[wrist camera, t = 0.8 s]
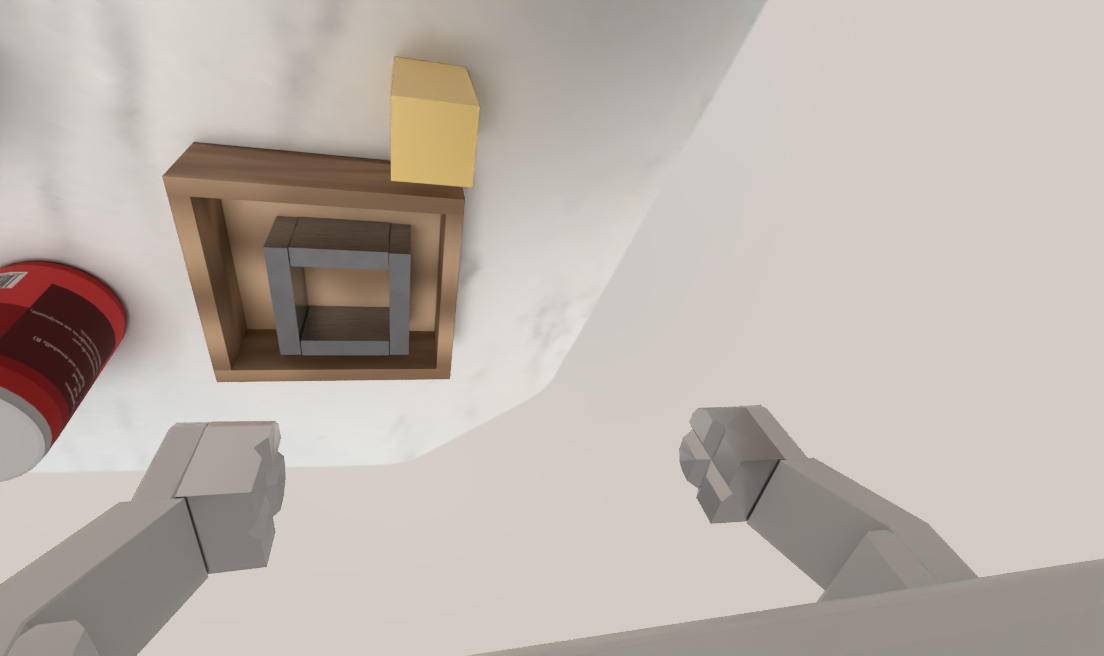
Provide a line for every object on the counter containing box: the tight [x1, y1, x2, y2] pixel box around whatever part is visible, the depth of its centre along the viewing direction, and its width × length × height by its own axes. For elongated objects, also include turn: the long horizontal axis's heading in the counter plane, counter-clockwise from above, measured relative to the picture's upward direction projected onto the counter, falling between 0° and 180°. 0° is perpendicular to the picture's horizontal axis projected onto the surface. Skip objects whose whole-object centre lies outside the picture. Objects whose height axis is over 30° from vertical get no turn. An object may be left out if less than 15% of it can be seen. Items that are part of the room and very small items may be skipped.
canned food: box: [0, 262, 126, 482], centre depth 30 cm, size 8×8×11 cm
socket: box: [263, 216, 411, 355], centre depth 35 cm, size 8×8×4 cm
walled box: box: [162, 142, 465, 382], centre depth 34 cm, size 14×15×5 cm
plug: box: [391, 57, 480, 188], centre depth 28 cm, size 4×4×8 cm
